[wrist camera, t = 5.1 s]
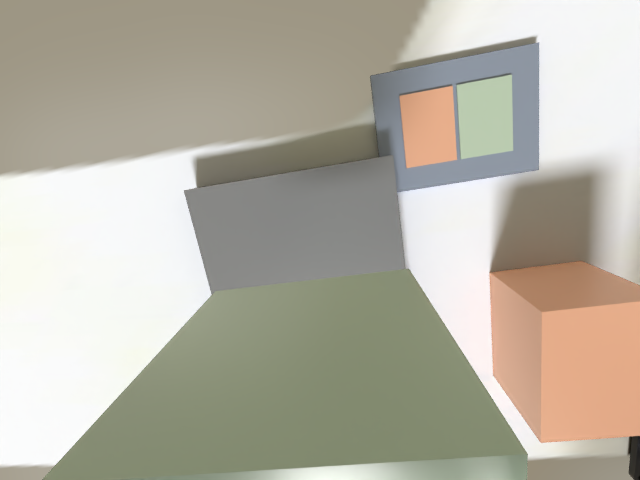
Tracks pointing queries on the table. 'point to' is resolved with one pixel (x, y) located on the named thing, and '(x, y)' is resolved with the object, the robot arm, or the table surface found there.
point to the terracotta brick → (568, 349)
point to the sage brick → (305, 394)
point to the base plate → (299, 225)
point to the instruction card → (460, 118)
